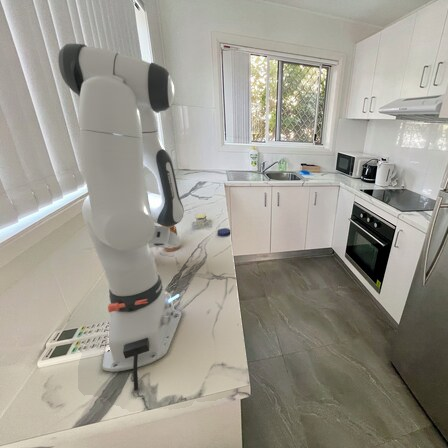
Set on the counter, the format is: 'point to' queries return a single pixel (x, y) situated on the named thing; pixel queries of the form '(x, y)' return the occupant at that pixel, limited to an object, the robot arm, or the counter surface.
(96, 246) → the robot arm
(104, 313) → the counter surface
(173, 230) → the jar
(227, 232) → the lid
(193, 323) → the counter surface
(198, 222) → the stacked layers on plate
